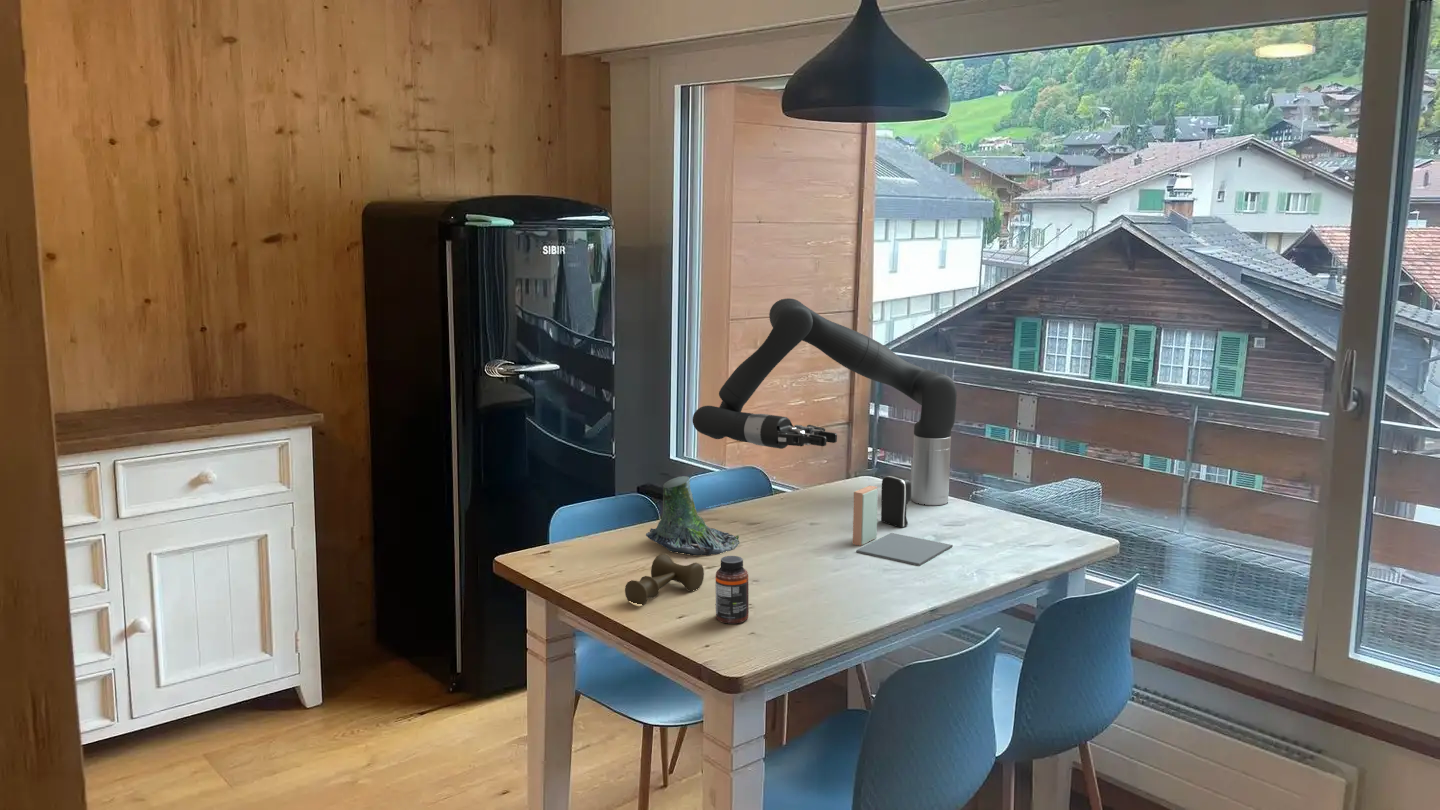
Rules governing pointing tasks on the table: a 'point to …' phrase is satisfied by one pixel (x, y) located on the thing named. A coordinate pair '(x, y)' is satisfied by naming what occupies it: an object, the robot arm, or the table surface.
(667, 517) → the tree stump
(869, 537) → the tile
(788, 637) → the table surface
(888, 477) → the battery charger
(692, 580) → the kendama
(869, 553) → the mat
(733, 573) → the supplement bottle
